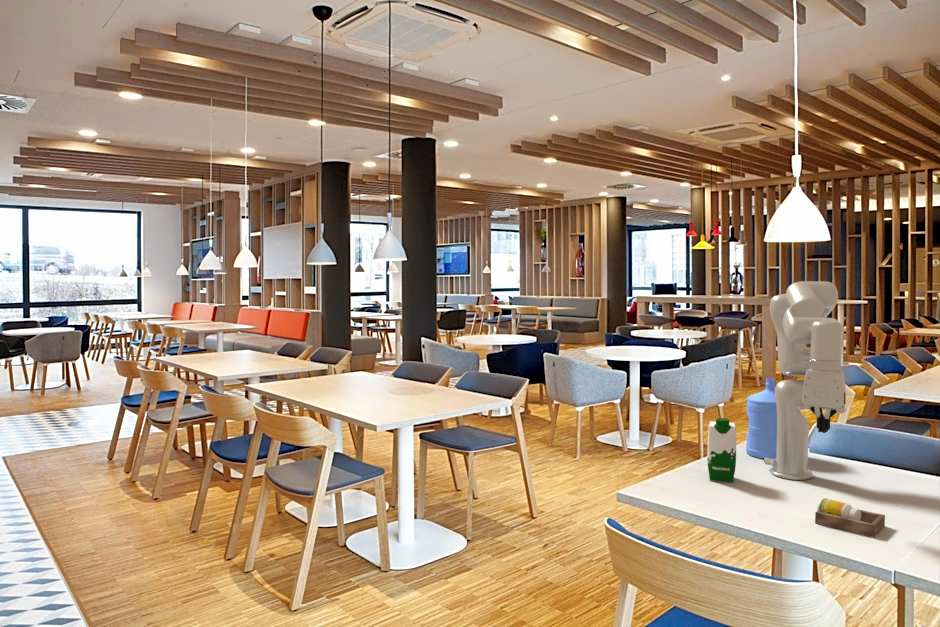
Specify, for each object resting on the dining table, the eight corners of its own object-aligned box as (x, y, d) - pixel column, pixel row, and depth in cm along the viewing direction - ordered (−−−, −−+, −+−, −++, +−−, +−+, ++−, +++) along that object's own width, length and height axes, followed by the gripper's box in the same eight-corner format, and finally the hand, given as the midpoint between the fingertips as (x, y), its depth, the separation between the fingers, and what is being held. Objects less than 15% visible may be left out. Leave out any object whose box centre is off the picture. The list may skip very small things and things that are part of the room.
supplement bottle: (828, 504, 194) (864, 514, 186) (820, 520, 192) (857, 531, 184) (821, 493, 192) (858, 502, 184) (814, 509, 190) (851, 519, 182)
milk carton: (706, 481, 224) (708, 419, 223) (707, 473, 232) (708, 414, 231) (736, 484, 221) (737, 421, 220) (735, 476, 230) (736, 416, 228)
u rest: (815, 523, 187) (815, 512, 187) (827, 513, 194) (828, 502, 194) (873, 537, 177) (874, 525, 177) (884, 526, 185) (885, 515, 184)
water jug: (802, 458, 250) (804, 381, 248) (765, 462, 246) (767, 383, 244) (771, 448, 265) (773, 375, 263) (736, 451, 261) (738, 376, 259)
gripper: (792, 364, 193) (790, 429, 195) (851, 370, 183) (848, 439, 184) (801, 361, 199) (799, 424, 200) (859, 367, 188) (857, 433, 190)
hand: (823, 431), depth 192 cm, fingers closed
